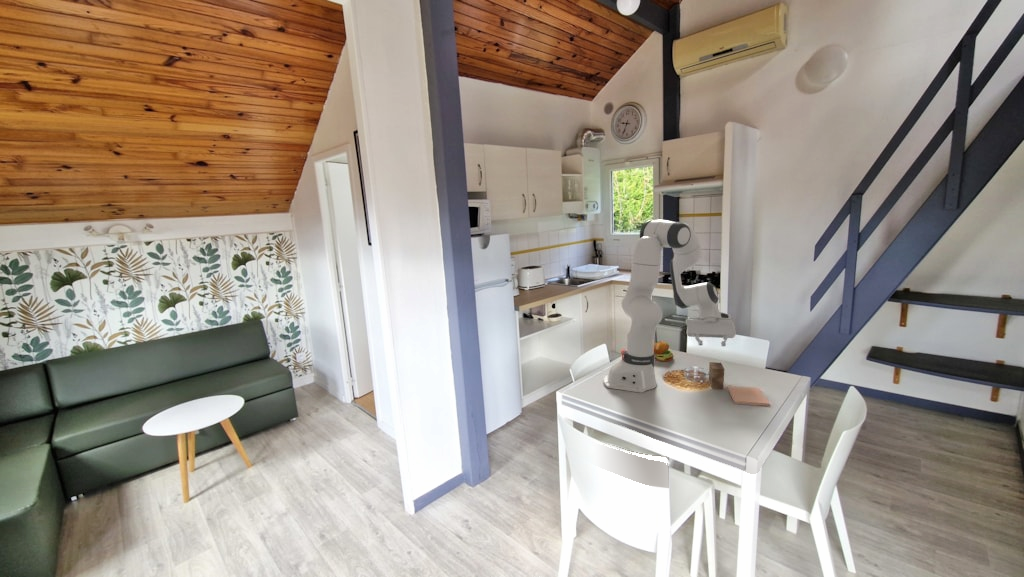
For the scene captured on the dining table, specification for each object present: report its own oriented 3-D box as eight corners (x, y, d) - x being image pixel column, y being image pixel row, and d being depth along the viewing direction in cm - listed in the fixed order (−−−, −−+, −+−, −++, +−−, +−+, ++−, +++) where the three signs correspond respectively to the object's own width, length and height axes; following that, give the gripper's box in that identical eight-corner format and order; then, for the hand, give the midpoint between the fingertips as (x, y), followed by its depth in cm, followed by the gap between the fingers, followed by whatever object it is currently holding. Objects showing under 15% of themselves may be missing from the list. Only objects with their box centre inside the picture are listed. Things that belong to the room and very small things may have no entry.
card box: (711, 388, 181) (712, 368, 179) (708, 381, 187) (709, 362, 185) (723, 389, 179) (724, 369, 178) (719, 382, 186) (721, 362, 184)
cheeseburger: (678, 361, 210) (674, 343, 208) (657, 367, 210) (652, 349, 208) (669, 354, 220) (665, 336, 218) (649, 360, 220) (645, 342, 218)
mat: (734, 403, 167) (735, 401, 167) (727, 388, 180) (727, 385, 180) (769, 406, 164) (769, 403, 164) (759, 390, 177) (759, 387, 177)
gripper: (685, 314, 199) (687, 341, 192) (734, 315, 194) (738, 343, 187) (684, 320, 204) (686, 347, 197) (731, 321, 199) (735, 349, 192)
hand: (712, 345), depth 192 cm, fingers open, 8 cm apart
